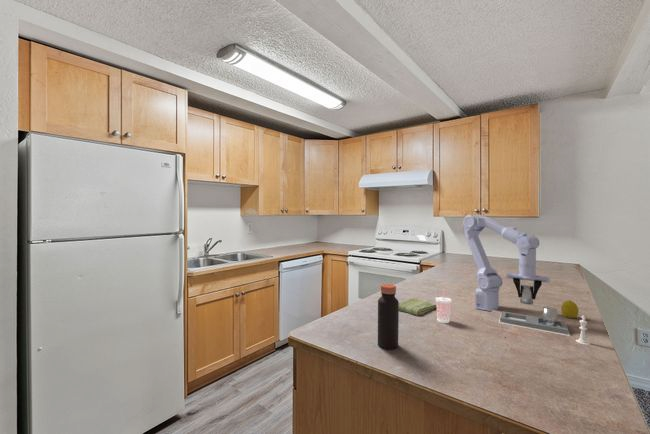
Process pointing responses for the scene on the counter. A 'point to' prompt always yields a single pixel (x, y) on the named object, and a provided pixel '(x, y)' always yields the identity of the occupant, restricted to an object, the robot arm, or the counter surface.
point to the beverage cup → (443, 308)
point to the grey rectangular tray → (532, 323)
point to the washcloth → (416, 306)
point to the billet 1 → (526, 294)
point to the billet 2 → (550, 316)
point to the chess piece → (583, 331)
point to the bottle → (388, 317)
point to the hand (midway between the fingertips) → (526, 297)
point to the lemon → (569, 309)
